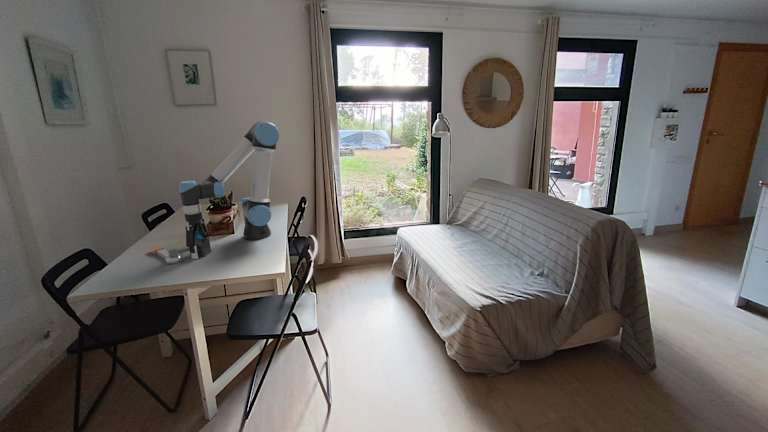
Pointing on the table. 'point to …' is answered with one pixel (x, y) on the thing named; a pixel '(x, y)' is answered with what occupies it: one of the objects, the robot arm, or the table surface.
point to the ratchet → (167, 254)
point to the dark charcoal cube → (202, 247)
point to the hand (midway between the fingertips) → (201, 254)
